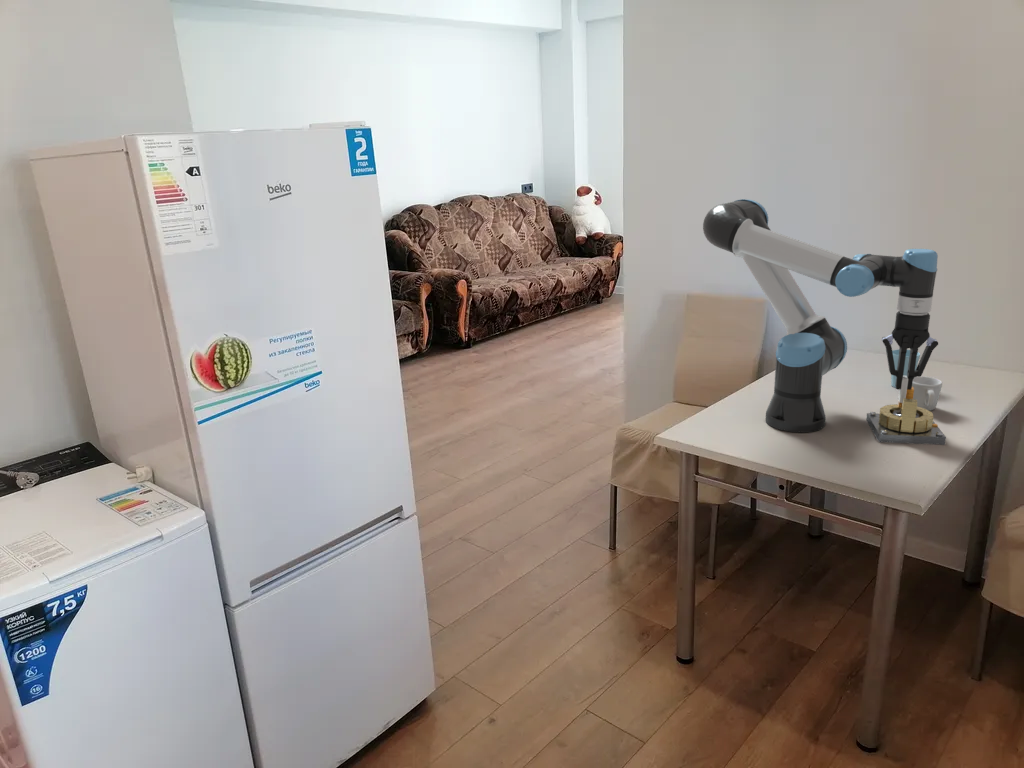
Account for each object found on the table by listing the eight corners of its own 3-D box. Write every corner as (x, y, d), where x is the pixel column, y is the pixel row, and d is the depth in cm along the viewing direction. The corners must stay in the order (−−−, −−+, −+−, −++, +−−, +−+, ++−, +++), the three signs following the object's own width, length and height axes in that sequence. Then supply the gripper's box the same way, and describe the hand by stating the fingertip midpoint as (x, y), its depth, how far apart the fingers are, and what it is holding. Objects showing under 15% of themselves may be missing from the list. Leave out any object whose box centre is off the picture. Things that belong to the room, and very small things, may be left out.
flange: (878, 442, 189) (881, 422, 188) (866, 420, 203) (868, 401, 202) (944, 444, 186) (947, 425, 184) (927, 422, 200) (930, 403, 198)
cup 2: (946, 417, 202) (950, 389, 200) (913, 416, 204) (917, 388, 202) (933, 403, 212) (937, 376, 210) (902, 402, 214) (905, 375, 212)
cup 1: (889, 389, 225) (893, 356, 221) (885, 381, 231) (889, 348, 228) (918, 391, 222) (922, 357, 219) (913, 382, 229) (917, 349, 226)
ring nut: (880, 429, 191) (883, 399, 188) (878, 413, 201) (881, 384, 199) (933, 434, 186) (938, 404, 184) (929, 417, 197) (933, 388, 194)
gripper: (887, 314, 188) (876, 404, 195) (945, 316, 184) (932, 407, 191) (883, 307, 195) (872, 394, 202) (939, 309, 191) (926, 398, 198)
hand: (901, 400), depth 197 cm, fingers closed
